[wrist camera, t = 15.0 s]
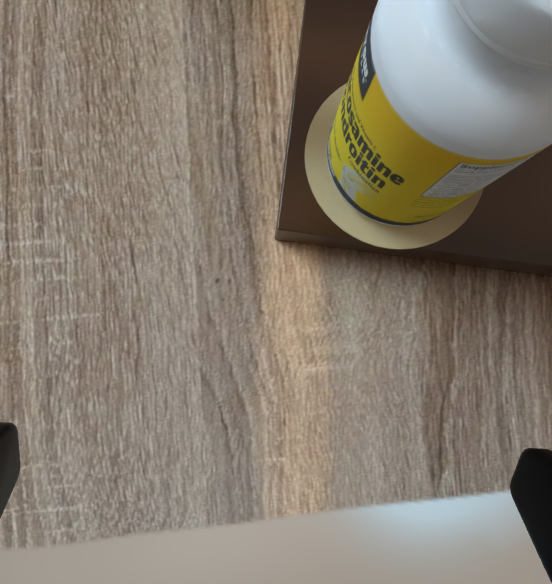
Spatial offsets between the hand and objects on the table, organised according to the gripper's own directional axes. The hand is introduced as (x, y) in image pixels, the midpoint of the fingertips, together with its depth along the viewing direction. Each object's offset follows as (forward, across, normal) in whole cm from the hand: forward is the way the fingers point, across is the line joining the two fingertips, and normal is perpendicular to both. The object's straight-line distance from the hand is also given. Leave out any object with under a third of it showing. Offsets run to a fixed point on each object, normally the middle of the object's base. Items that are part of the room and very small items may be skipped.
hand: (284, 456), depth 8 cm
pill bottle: (+14, -6, -5) cm, 16 cm away
